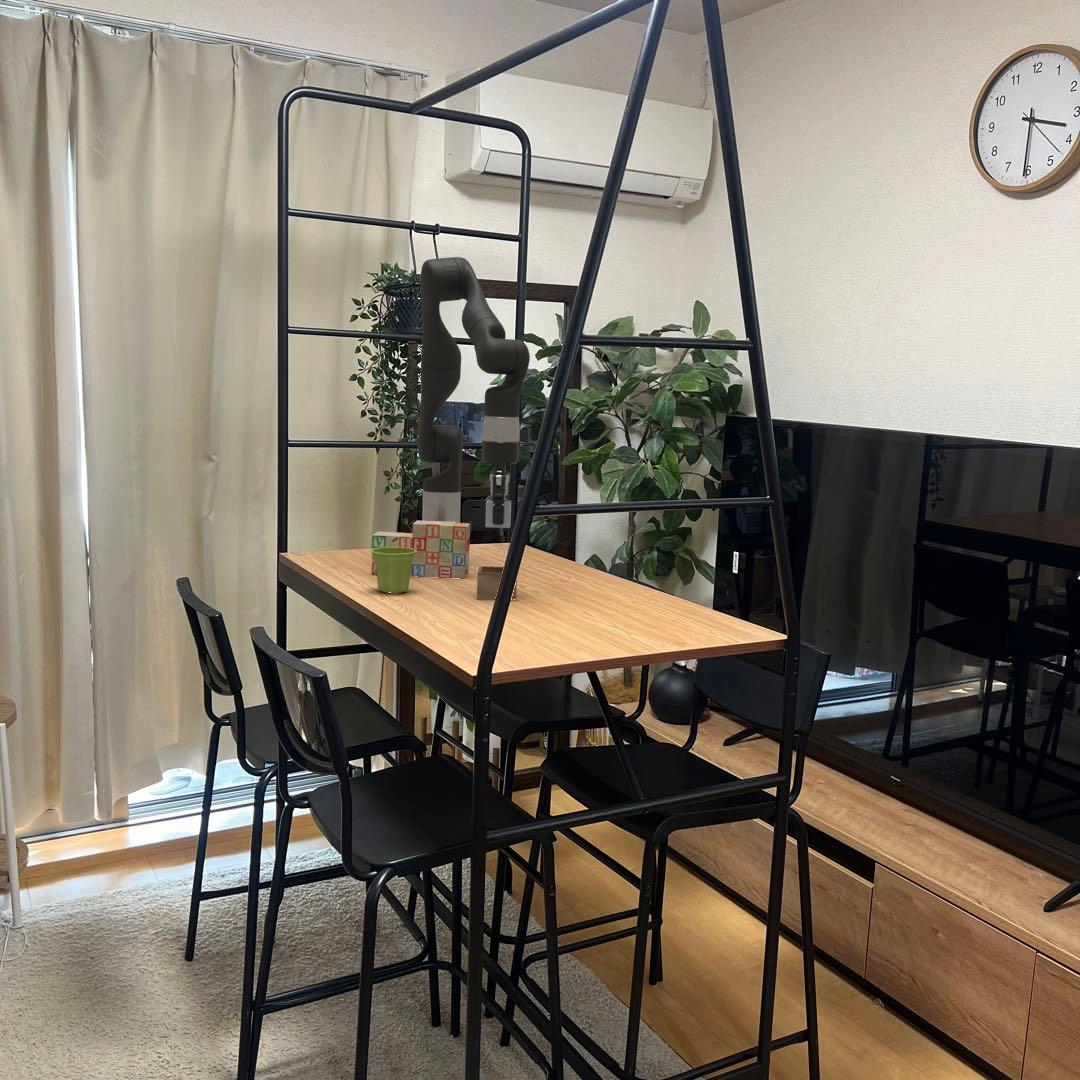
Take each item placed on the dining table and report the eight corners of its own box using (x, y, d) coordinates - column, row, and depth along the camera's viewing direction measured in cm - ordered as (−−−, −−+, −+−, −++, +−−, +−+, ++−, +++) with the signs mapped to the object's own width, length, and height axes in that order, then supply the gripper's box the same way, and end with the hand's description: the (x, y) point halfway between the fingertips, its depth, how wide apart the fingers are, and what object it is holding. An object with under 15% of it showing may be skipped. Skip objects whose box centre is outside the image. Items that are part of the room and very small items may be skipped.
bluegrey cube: (486, 524, 217) (487, 499, 216) (510, 524, 217) (511, 500, 216) (485, 527, 212) (486, 502, 211) (510, 527, 212) (510, 503, 211)
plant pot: (371, 595, 212) (371, 553, 211) (369, 587, 221) (369, 546, 220) (417, 595, 214) (418, 553, 213) (413, 587, 223) (414, 546, 222)
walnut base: (478, 591, 220) (479, 566, 219) (516, 593, 220) (517, 567, 220) (476, 599, 212) (477, 572, 212) (516, 600, 212) (517, 573, 212)
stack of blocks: (370, 575, 236) (371, 521, 234) (377, 571, 242) (377, 518, 240) (465, 580, 234) (467, 525, 233) (469, 575, 240) (470, 522, 239)
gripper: (483, 437, 219) (481, 518, 221) (480, 440, 205) (478, 526, 207) (519, 438, 219) (517, 519, 221) (519, 441, 205) (516, 527, 207)
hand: (498, 522), depth 214 cm, fingers closed on bluegrey cube, 5 cm apart
